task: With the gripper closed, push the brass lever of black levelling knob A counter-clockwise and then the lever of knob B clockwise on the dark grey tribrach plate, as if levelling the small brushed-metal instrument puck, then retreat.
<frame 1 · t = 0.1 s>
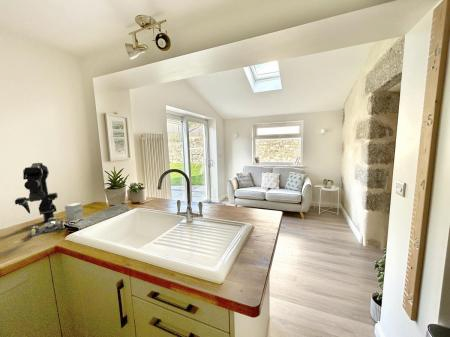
hand: (39, 211, 123), 15 cm above the worktop, fingers open, 9 cm apart
knob c: (55, 219, 139), point 3 cm above the worktop, hinge at 0.0°
tribrach: (51, 228, 132), on the worktop
knob b: (64, 223, 131), point 3 cm above the worktop, hinge at 0.0°
supplement box: (75, 221, 144), on the worktop
knob a: (33, 230, 122), point 3 cm above the worktop, hinge at 0.0°
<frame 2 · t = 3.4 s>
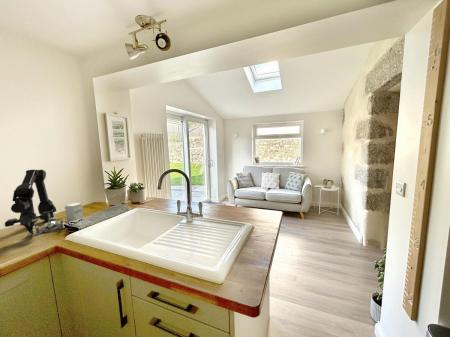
hand: (30, 232, 119), 3 cm above the worktop, fingers closed
knob a: (34, 230, 122), point 3 cm above the worktop, hinge at 8.1°, touching gripper
everything else where it was.
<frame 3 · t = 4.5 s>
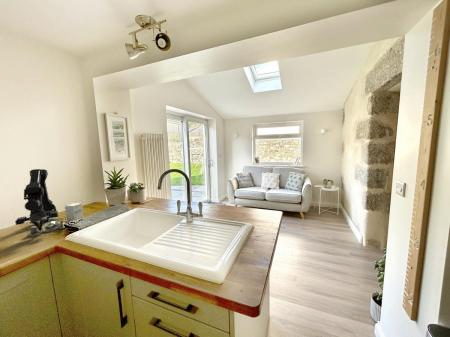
hand: (40, 230, 122), 3 cm above the worktop, fingers closed
knob a: (37, 229, 124), point 3 cm above the worktop, hinge at 54.0°, touching gripper
everything else where it was.
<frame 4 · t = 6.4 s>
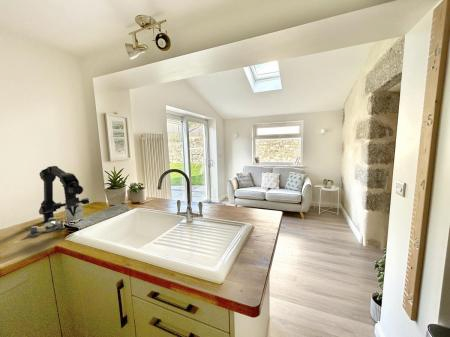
hand: (73, 215, 131), 8 cm above the worktop, fingers closed
knob a: (37, 229, 124), point 3 cm above the worktop, hinge at 55.3°
everything else where it was.
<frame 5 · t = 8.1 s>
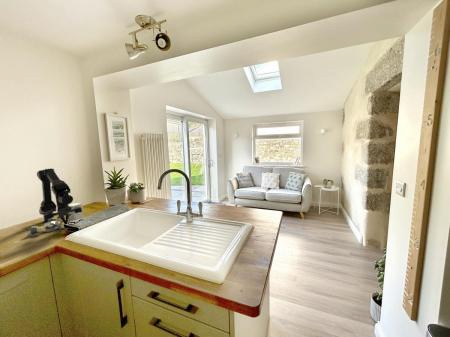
hand: (66, 225, 129), 3 cm above the worktop, fingers closed
knob b: (63, 223, 130), point 3 cm above the worktop, hinge at -7.2°, touching gripper
everything else where it was.
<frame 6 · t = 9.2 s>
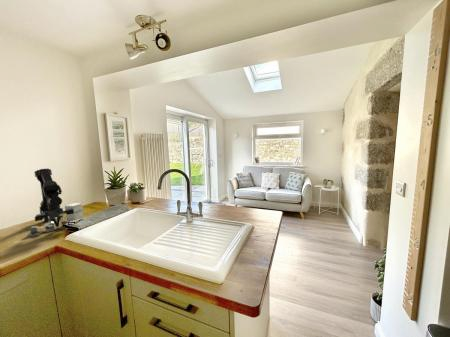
hand: (57, 226, 126), 3 cm above the worktop, fingers closed
knob b: (61, 224, 130), point 3 cm above the worktop, hinge at -53.8°
everything else where it was.
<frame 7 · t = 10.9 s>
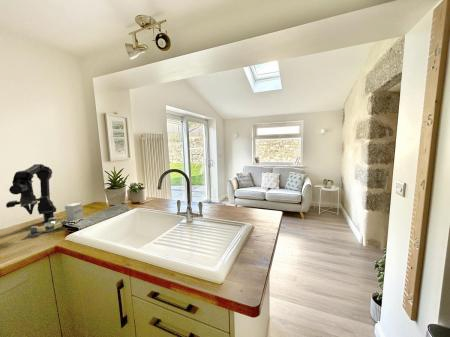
hand: (31, 214, 126), 12 cm above the worktop, fingers closed
knob b: (61, 224, 130), point 3 cm above the worktop, hinge at -55.1°
everything else where it was.
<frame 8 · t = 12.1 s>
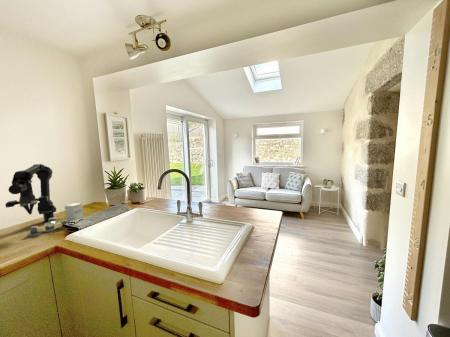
hand: (30, 214, 126), 12 cm above the worktop, fingers closed
nothing on the worktop moved.
at the end: knob a at +55° (first picture: +0°); knob b at -55° (first picture: +0°); knob c at +0° (first picture: +0°) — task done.
